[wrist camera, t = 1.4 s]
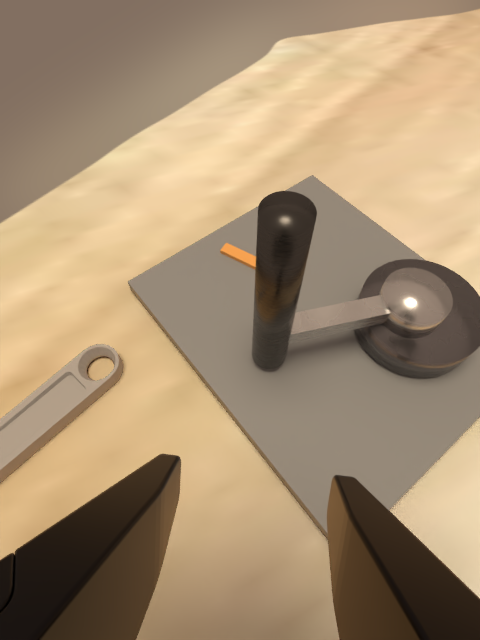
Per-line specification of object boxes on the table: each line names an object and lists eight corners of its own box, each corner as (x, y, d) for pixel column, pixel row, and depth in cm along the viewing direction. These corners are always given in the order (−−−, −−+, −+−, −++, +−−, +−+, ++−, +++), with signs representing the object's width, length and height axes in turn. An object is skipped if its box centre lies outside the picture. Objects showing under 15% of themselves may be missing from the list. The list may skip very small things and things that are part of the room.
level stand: (533, 357, 24) (547, 347, 23) (340, 555, 19) (346, 555, 18) (310, 185, 32) (312, 171, 31) (131, 290, 27) (126, 278, 26)
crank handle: (493, 332, 24) (668, 179, 14) (347, 469, 20) (448, 389, 10) (387, 250, 27) (469, 80, 17) (244, 353, 23) (245, 208, 13)
